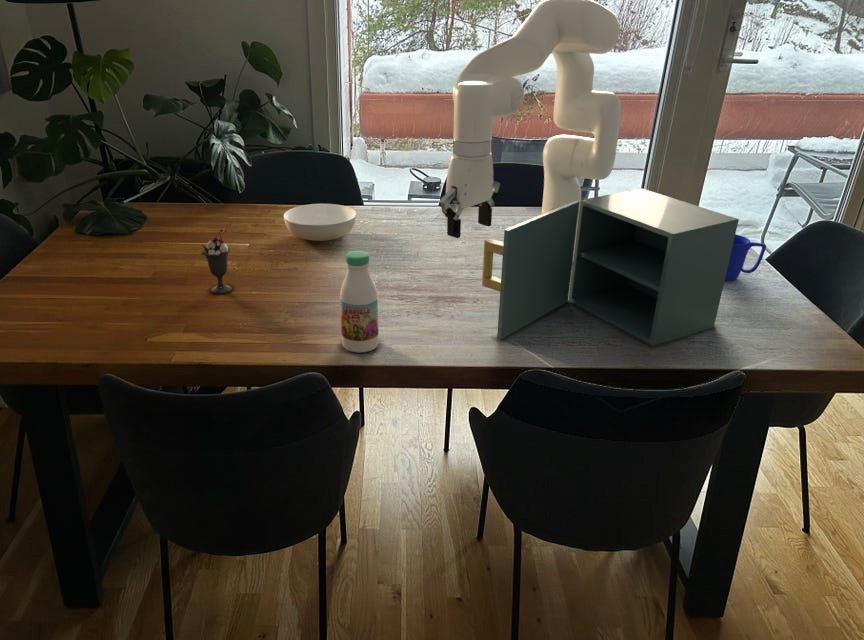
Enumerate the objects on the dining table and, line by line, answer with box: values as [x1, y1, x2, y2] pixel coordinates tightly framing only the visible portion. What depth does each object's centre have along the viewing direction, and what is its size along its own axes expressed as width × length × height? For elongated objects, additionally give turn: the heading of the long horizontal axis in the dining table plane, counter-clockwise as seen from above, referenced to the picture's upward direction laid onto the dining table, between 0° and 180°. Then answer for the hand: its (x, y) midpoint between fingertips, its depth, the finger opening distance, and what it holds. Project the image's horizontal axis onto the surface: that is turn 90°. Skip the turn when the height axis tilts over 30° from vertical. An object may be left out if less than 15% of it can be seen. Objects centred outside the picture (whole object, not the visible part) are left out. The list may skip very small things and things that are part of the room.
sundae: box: [201, 229, 233, 295], centre depth 173 cm, size 7×7×15 cm
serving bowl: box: [283, 203, 357, 242], centre depth 208 cm, size 21×21×7 cm
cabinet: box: [568, 188, 740, 347], centre depth 155 cm, size 18×26×24 cm
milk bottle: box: [339, 250, 380, 353], centre depth 145 cm, size 8×8×20 cm
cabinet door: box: [481, 201, 579, 340], centre depth 155 cm, size 8×26×24 cm, turn 136°
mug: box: [724, 234, 767, 282], centre depth 176 cm, size 8×12×10 cm
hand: (469, 230), depth 151 cm, fingers open, 9 cm apart
